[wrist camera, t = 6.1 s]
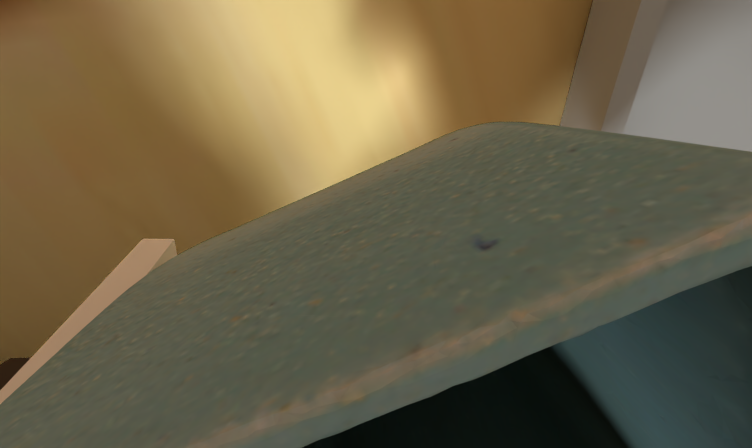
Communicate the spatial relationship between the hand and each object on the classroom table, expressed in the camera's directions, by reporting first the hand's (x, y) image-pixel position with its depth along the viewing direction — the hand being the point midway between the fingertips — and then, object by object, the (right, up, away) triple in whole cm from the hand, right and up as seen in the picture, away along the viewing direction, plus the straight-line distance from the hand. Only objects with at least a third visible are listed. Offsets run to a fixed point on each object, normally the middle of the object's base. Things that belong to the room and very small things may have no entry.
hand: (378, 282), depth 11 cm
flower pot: (0, +1, +1) cm, 2 cm away
